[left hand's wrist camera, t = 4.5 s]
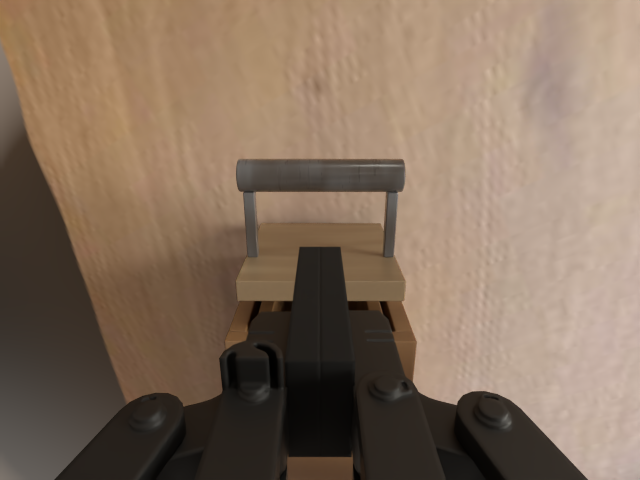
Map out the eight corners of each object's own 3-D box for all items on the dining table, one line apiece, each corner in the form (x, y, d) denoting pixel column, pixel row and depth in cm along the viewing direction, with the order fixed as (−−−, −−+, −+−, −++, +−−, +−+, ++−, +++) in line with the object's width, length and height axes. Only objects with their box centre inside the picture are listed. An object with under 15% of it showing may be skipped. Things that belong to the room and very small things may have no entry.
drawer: (255, 144, 27) (224, 171, 19) (386, 144, 27) (417, 171, 19) (269, 403, 35) (252, 508, 27) (371, 403, 35) (388, 508, 27)
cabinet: (257, 255, 31) (224, 341, 21) (384, 255, 31) (417, 341, 21) (267, 431, 38) (246, 566, 27) (373, 431, 38) (394, 566, 27)
